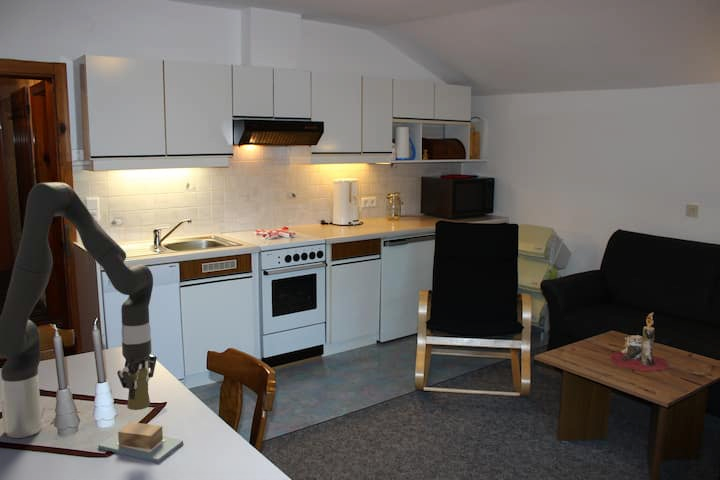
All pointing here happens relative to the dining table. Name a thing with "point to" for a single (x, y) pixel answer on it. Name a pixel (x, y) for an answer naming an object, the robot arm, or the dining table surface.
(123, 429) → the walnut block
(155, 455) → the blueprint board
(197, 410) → the dining table surface
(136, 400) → the olive pawn
